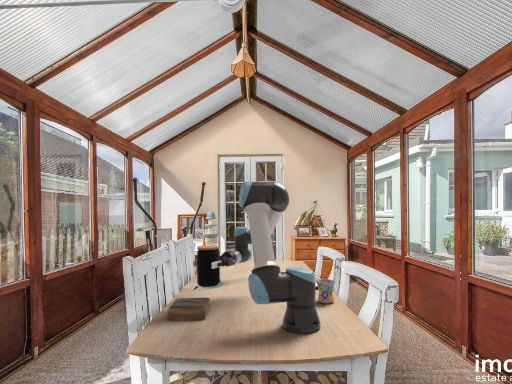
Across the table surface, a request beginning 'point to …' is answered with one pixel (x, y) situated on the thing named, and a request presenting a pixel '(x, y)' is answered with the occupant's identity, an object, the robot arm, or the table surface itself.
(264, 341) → the table surface
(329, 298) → the mug
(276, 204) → the robot arm
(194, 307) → the walnut stand
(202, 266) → the coffee jar
